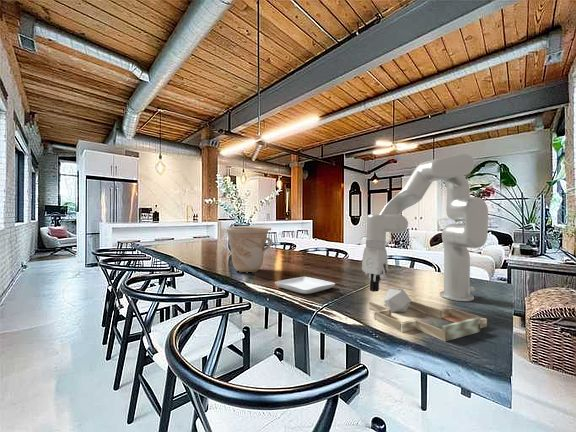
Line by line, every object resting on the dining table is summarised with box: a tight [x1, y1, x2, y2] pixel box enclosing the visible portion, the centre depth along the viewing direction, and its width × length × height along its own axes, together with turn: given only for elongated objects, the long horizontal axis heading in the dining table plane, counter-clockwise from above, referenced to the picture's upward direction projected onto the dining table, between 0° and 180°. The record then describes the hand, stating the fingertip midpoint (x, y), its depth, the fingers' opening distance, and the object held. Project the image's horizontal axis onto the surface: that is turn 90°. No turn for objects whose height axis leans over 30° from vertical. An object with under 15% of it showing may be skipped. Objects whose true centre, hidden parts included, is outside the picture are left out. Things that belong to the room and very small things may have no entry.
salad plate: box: [274, 276, 336, 295], centre depth 135 cm, size 21×21×3 cm
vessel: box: [224, 225, 273, 274], centre depth 177 cm, size 29×29×30 cm
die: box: [383, 288, 412, 313], centre depth 104 cm, size 8×9×10 cm
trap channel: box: [368, 300, 488, 342], centre depth 96 cm, size 28×30×4 cm
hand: (374, 290), depth 114 cm, fingers closed
